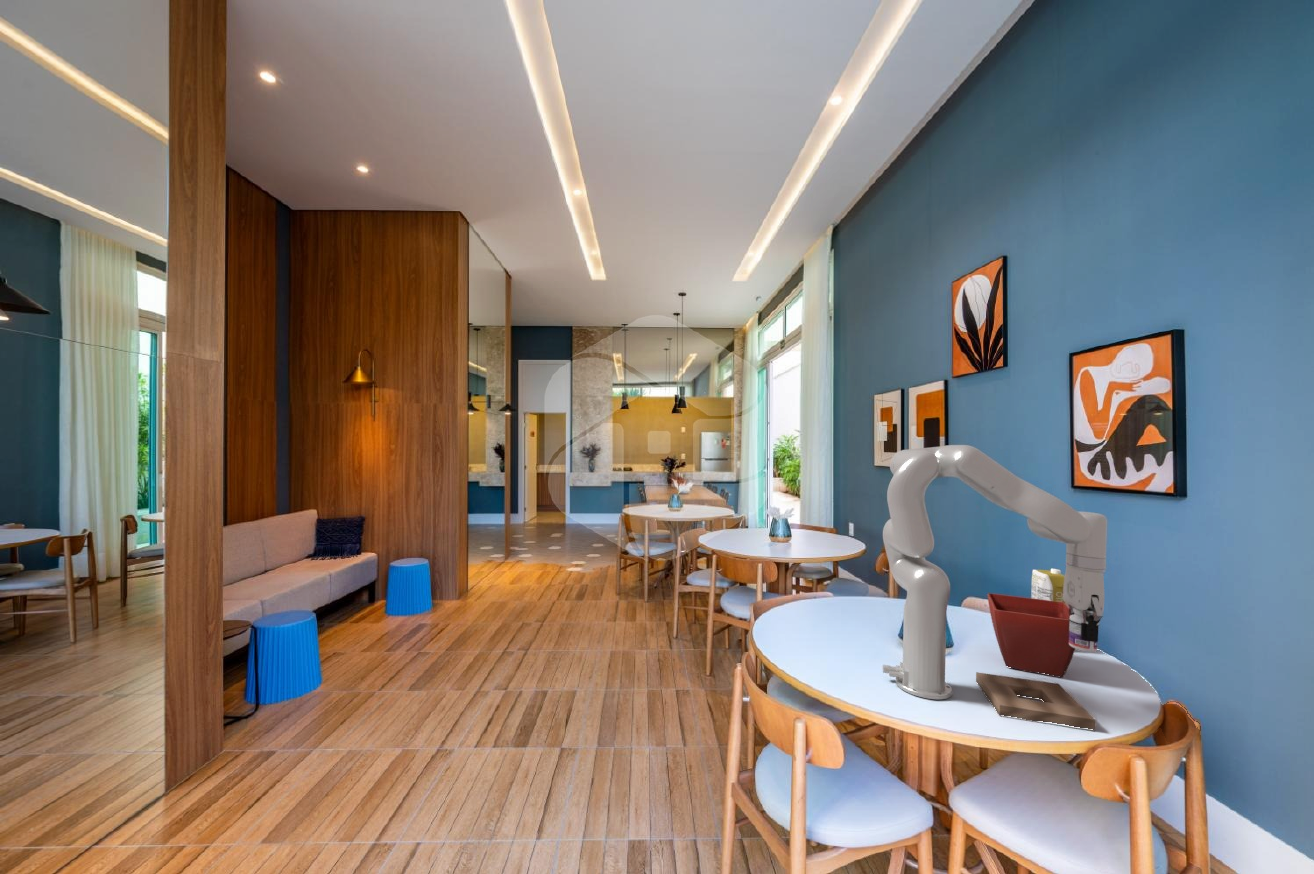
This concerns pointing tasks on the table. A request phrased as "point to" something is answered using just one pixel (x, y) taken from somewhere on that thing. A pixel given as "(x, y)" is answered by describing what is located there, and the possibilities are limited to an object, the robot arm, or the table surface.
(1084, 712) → the socket block
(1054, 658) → the plant pot
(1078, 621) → the pill bottle
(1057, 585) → the juice carton
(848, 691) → the table surface
